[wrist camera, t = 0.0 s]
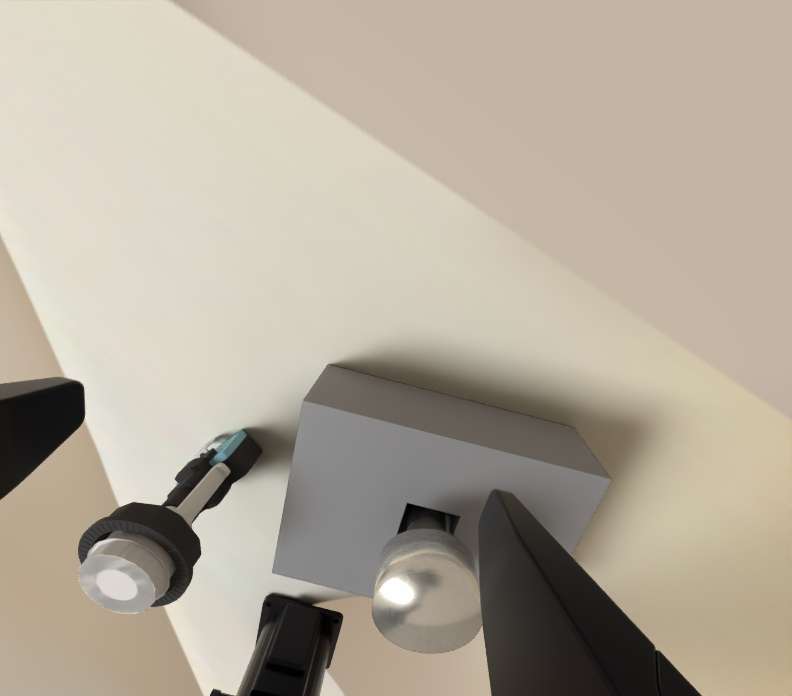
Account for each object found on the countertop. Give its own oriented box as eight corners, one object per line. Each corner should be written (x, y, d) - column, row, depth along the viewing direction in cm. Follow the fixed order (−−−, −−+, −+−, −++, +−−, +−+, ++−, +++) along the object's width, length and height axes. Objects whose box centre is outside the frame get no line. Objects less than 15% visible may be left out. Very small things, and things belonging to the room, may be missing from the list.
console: (509, 565, 27) (527, 636, 23) (298, 511, 27) (271, 572, 22) (574, 427, 23) (612, 479, 19) (327, 364, 23) (303, 400, 18)
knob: (452, 533, 24) (463, 664, 17) (380, 515, 24) (361, 638, 17) (475, 473, 22) (498, 590, 15) (398, 454, 22) (386, 561, 15)
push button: (217, 504, 28) (108, 652, 18) (164, 454, 26) (19, 583, 17) (281, 462, 26) (199, 599, 16) (228, 405, 25) (106, 518, 15)
